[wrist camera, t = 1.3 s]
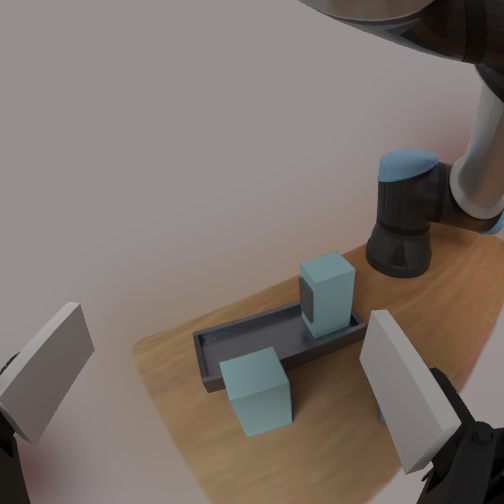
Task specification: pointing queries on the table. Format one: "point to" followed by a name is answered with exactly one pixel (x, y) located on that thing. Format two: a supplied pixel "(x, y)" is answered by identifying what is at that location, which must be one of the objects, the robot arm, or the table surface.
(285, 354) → the dark gray tray
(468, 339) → the table surface
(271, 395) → the finger
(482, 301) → the table surface
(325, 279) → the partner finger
